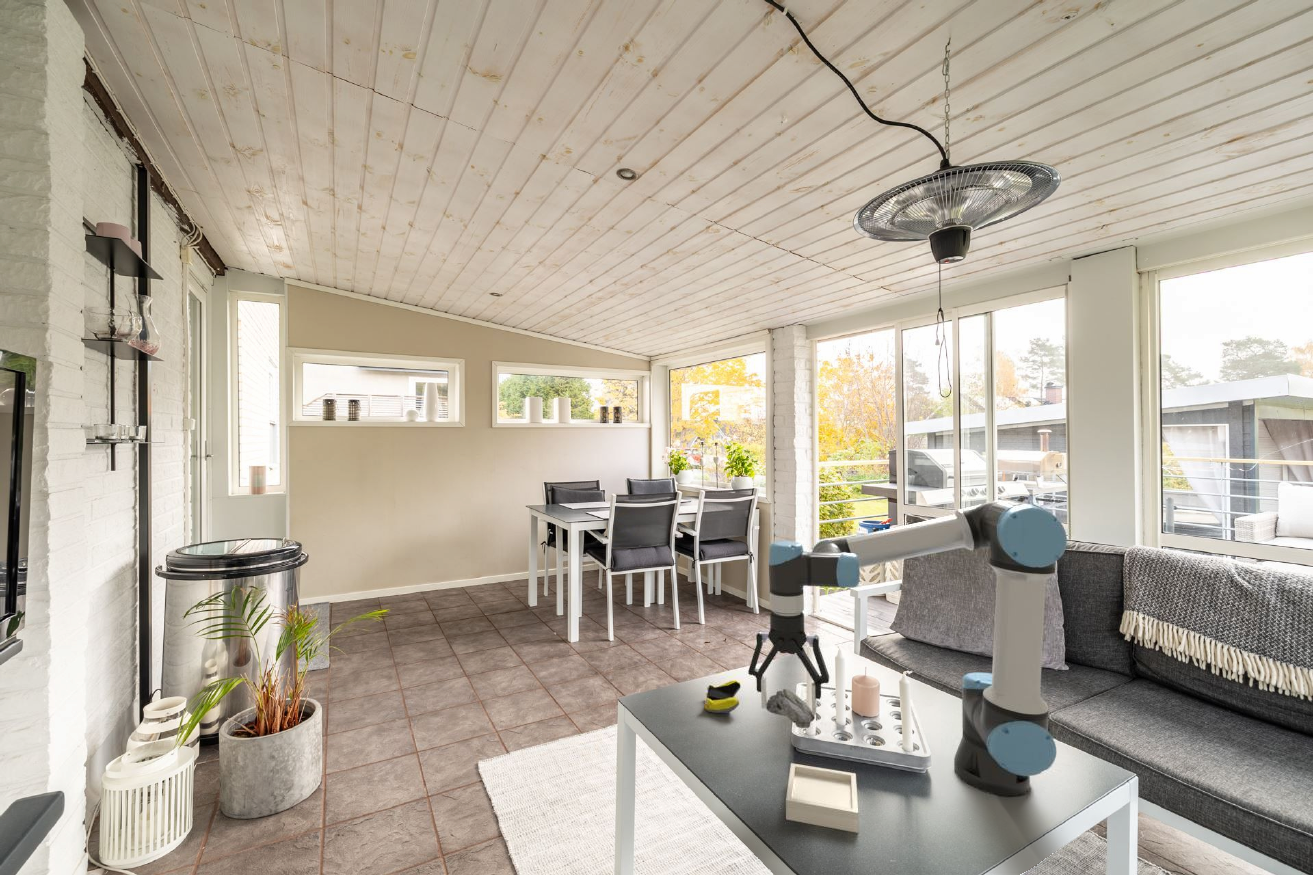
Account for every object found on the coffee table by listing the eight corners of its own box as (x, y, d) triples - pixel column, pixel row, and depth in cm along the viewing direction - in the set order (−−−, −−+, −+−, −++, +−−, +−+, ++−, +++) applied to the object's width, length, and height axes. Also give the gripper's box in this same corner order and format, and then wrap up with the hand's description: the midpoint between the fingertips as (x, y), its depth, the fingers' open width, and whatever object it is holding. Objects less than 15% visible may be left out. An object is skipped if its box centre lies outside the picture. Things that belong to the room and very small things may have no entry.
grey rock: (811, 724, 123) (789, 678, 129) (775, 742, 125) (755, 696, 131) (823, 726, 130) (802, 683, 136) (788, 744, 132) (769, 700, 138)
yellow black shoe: (740, 696, 176) (707, 694, 177) (740, 678, 176) (707, 676, 177) (738, 720, 161) (702, 717, 163) (738, 700, 161) (702, 697, 163)
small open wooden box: (855, 791, 128) (855, 773, 128) (858, 832, 115) (858, 812, 115) (791, 780, 132) (791, 763, 132) (786, 819, 119) (786, 799, 119)
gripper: (840, 610, 131) (842, 708, 131) (739, 602, 138) (741, 695, 138) (839, 620, 124) (841, 723, 124) (733, 611, 131) (735, 709, 131)
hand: (788, 708), depth 131 cm, fingers closed on grey rock, 10 cm apart
